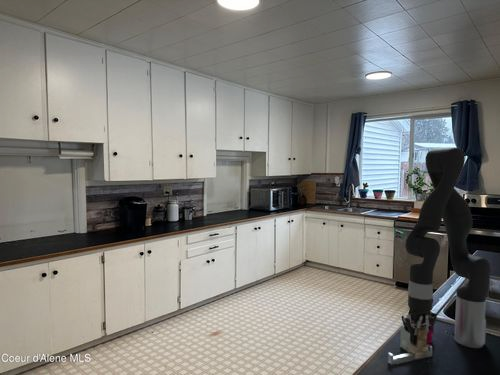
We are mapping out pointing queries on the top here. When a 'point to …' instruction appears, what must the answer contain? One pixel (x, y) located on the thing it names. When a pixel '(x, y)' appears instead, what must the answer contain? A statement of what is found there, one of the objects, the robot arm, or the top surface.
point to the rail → (406, 357)
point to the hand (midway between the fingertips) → (418, 342)
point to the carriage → (420, 344)
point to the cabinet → (404, 338)
